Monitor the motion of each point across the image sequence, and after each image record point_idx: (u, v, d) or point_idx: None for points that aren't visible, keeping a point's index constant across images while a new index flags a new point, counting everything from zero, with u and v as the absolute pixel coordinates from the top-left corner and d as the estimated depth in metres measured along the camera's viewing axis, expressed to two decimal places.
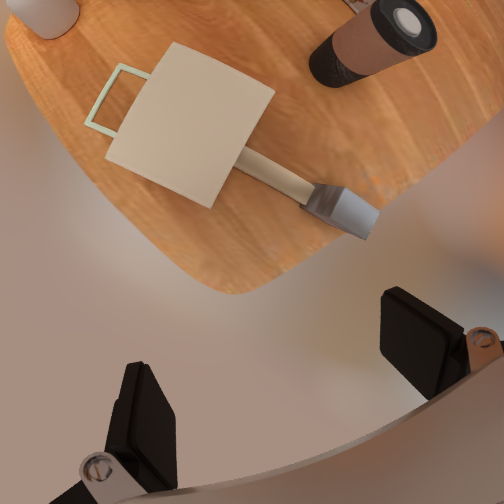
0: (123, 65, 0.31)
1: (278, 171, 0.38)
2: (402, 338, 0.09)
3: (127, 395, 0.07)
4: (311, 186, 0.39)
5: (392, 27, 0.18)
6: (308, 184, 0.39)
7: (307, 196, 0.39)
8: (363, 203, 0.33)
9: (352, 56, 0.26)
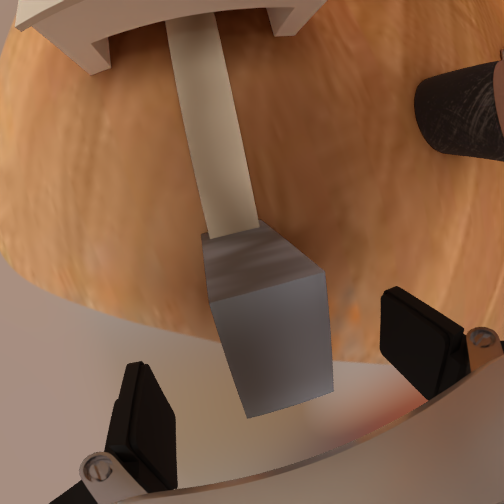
0: None
1: (225, 133, 0.15)
2: (402, 338, 0.09)
3: (127, 395, 0.07)
4: (253, 219, 0.17)
5: None
6: (251, 210, 0.17)
7: (228, 228, 0.17)
8: (323, 347, 0.11)
9: None
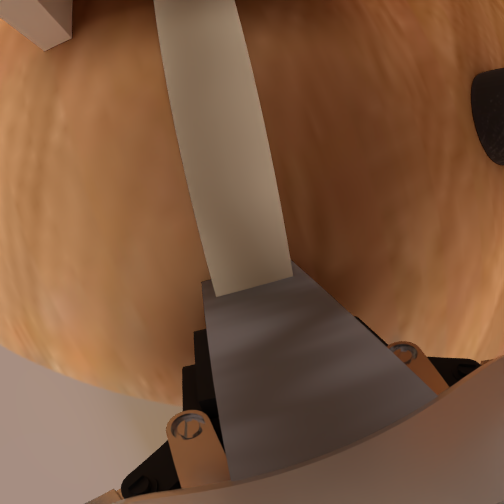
0: None
1: (240, 126, 0.09)
2: None
3: (204, 356, 0.09)
4: (284, 264, 0.11)
5: None
6: (282, 251, 0.11)
7: (245, 279, 0.11)
8: None
9: None
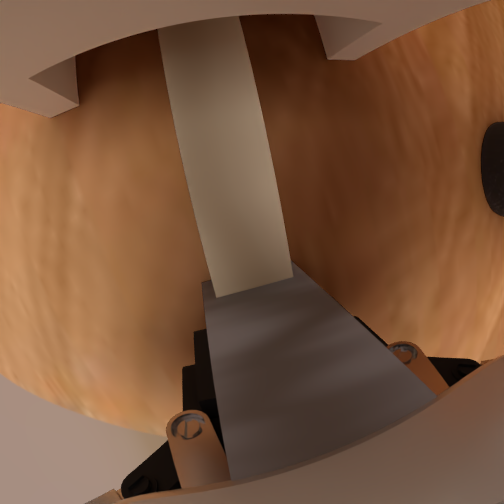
0: None
1: (240, 127, 0.09)
2: None
3: (204, 356, 0.09)
4: (284, 265, 0.11)
5: None
6: (282, 252, 0.11)
7: (246, 280, 0.11)
8: None
9: None
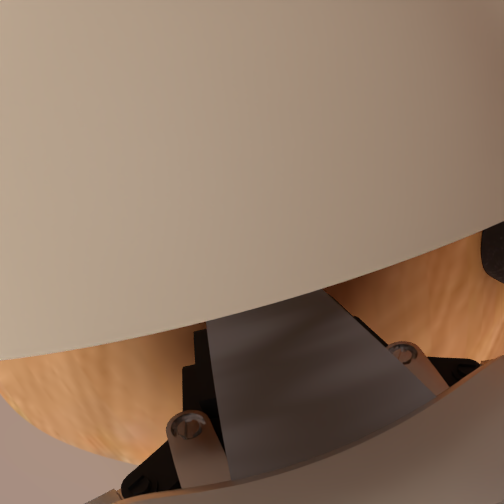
0: None
1: None
2: None
3: (204, 356, 0.09)
4: None
5: None
6: None
7: None
8: None
9: None
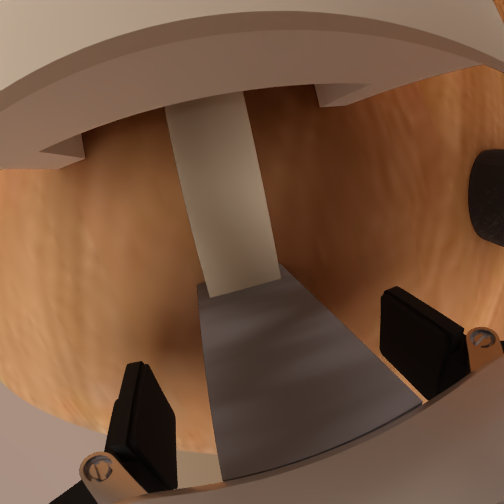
0: None
1: (230, 141, 0.10)
2: (402, 338, 0.09)
3: (127, 395, 0.07)
4: (272, 268, 0.12)
5: None
6: (270, 255, 0.12)
7: (237, 281, 0.12)
8: None
9: None
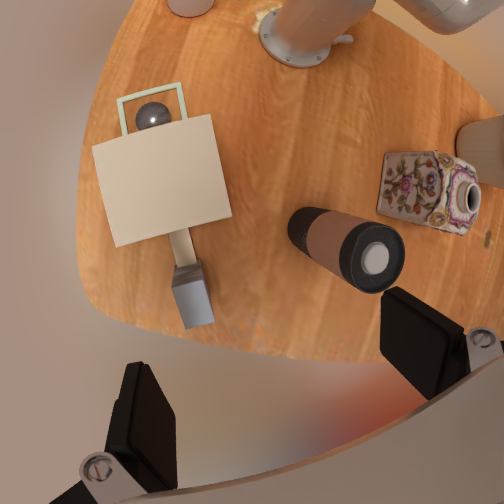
0: (180, 86, 0.37)
1: None
2: (402, 338, 0.09)
3: (127, 395, 0.07)
4: (194, 259, 0.43)
5: (351, 255, 0.27)
6: (193, 256, 0.42)
7: (184, 263, 0.42)
8: (206, 303, 0.36)
9: (314, 242, 0.36)
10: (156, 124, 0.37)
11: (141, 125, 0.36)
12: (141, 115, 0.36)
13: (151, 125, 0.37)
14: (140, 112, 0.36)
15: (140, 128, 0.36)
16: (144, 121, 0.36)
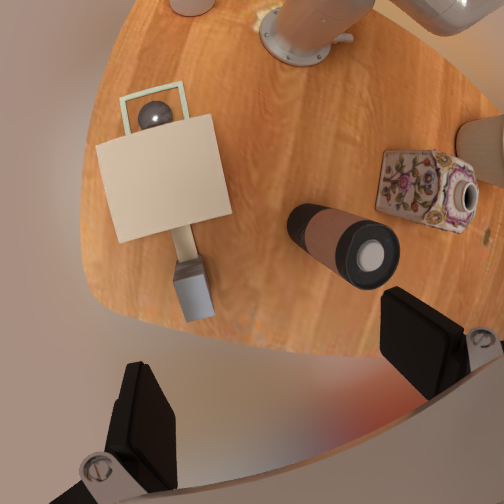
0: (181, 85, 0.38)
1: None
2: (402, 338, 0.09)
3: (127, 395, 0.07)
4: (195, 255, 0.44)
5: (346, 252, 0.28)
6: (194, 251, 0.44)
7: (186, 258, 0.44)
8: (207, 297, 0.37)
9: (312, 239, 0.37)
10: (158, 122, 0.38)
11: (143, 124, 0.37)
12: (143, 113, 0.37)
13: (153, 124, 0.37)
14: (142, 111, 0.37)
15: (142, 127, 0.37)
16: (146, 119, 0.37)
